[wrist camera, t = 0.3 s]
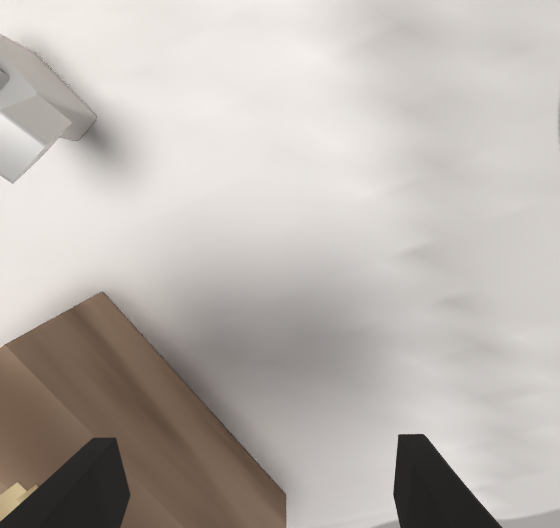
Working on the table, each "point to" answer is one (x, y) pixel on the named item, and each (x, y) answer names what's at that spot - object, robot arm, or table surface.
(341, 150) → the table surface
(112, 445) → the robot arm
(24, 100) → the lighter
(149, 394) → the socket block
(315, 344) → the table surface
